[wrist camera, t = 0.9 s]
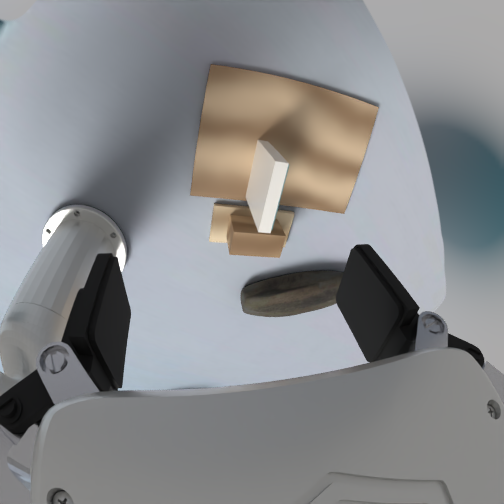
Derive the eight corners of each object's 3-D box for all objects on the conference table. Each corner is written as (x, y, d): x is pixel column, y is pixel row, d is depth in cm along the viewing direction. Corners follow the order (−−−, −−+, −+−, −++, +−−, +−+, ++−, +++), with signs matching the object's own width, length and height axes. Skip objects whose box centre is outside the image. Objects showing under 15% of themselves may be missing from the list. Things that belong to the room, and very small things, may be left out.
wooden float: (282, 242, 39) (292, 265, 35) (209, 237, 37) (211, 260, 33) (292, 210, 37) (304, 230, 33) (214, 202, 34) (216, 222, 30)
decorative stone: (347, 264, 44) (358, 281, 41) (339, 294, 48) (348, 311, 44) (239, 275, 41) (243, 295, 38) (239, 306, 45) (243, 326, 42)
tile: (257, 198, 34) (272, 233, 27) (245, 196, 34) (258, 232, 27) (270, 141, 30) (290, 163, 24) (257, 139, 30) (275, 161, 23)
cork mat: (342, 211, 38) (344, 213, 37) (190, 193, 33) (190, 195, 32) (376, 106, 30) (378, 107, 29) (210, 64, 25) (210, 64, 24)
